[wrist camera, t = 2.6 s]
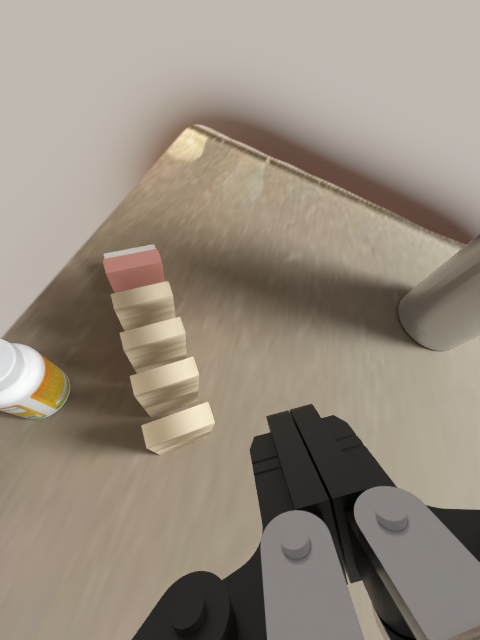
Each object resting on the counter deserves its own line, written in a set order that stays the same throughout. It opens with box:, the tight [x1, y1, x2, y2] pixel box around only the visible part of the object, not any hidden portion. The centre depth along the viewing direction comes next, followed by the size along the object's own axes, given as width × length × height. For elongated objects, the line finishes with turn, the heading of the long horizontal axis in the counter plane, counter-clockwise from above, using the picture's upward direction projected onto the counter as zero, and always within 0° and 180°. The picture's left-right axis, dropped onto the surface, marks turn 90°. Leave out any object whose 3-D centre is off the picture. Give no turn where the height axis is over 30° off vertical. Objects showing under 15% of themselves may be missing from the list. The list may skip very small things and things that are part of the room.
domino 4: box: [130, 357, 199, 417], centre depth 28 cm, size 5×2×10 cm, turn 111°
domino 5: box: [141, 402, 215, 455], centre depth 26 cm, size 5×2×10 cm, turn 111°
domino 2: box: [111, 281, 176, 331], centre depth 30 cm, size 5×2×10 cm, turn 111°
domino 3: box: [120, 317, 187, 374], centre depth 29 cm, size 5×2×10 cm, turn 111°
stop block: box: [104, 244, 156, 259], centre depth 37 cm, size 6×4×3 cm, turn 111°
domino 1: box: [102, 249, 165, 293], centre depth 32 cm, size 5×2×10 cm, turn 111°
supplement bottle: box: [0, 339, 70, 419], centre depth 26 cm, size 5×5×10 cm
